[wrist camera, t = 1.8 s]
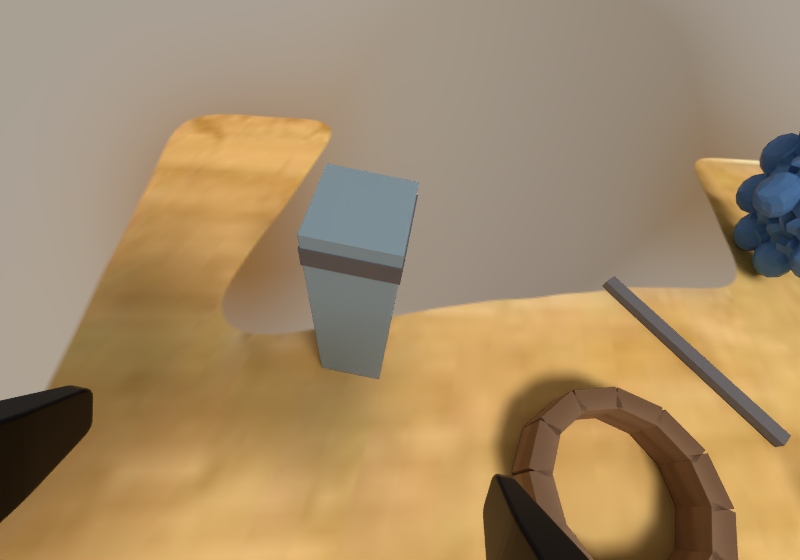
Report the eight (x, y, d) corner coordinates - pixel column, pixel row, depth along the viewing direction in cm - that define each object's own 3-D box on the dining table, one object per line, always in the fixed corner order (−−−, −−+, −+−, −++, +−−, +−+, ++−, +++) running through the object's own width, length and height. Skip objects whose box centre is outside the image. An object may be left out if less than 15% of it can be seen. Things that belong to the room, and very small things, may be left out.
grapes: (669, 193, 36) (793, 67, 26) (734, 200, 37) (879, 79, 27) (724, 299, 30) (915, 187, 20) (801, 305, 30) (1024, 199, 20)
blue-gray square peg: (379, 380, 23) (405, 258, 12) (321, 368, 23) (295, 235, 12) (390, 326, 25) (420, 181, 14) (336, 315, 25) (325, 162, 14)
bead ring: (625, 674, 17) (663, 695, 15) (477, 467, 21) (490, 461, 19) (731, 518, 21) (773, 518, 19) (589, 369, 25) (611, 355, 23)
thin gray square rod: (775, 446, 24) (784, 445, 23) (602, 285, 29) (606, 281, 29) (781, 437, 24) (790, 435, 24) (609, 280, 30) (614, 275, 29)
